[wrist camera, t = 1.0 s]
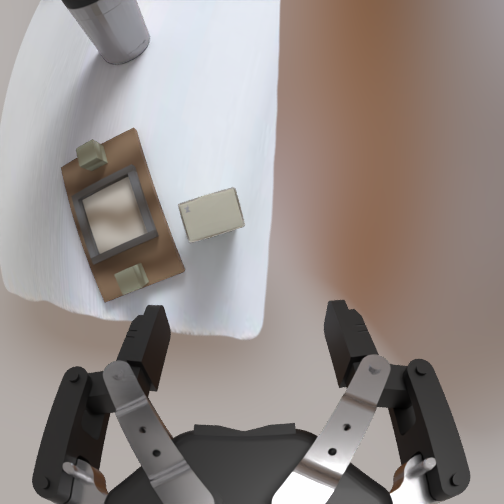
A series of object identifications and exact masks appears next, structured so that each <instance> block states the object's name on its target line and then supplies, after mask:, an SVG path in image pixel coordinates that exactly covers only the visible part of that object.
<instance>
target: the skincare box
mask: <svg viewBox="0 0 504 504" xmlns="http://www.w3.org/2000/svg"><path fill="white" fill-rule="evenodd" d="M178 207H179V211H180V215H181V219H182V222H183V226H184V229H185V232H186V235H187V238H188V241H189V242H190V243H192V242H196V241H200V240H204V239H207V238H211V237H214V236H217V235H220V234H224V233H227V232H230V231H233V230H236V229H238V228H241V227H244V226H245V223H244V219H243V215H242V211H241V207H240V203H239V199H238V196H237V192H236V189H235V188H233V187H232V188H229V189H225V190H221V191H218V192H215V193H211V194H208V195H204V196H201V197H198V198H195V199H192V200H189V201H186V202H183V203H180V204H178Z"/></svg>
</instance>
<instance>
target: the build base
mask: <svg viewBox="0 0 504 504" xmlns="http://www.w3.org/2000/svg"><path fill="white" fill-rule="evenodd" d="M76 152H77V157H78V158H76V159H74V160H73V161H71V162H69V163H68V164H66V165H64V166H63V167H61V170H62V175H63V179H64V183H65V188H66V192H67V196H68V200H69V203H70V207H71V211H72V214H73V217H74V221H75V224H76V227H77V231H78V234H79V237H80V240H81V243H82V246H83V249H84V251H85V254H86V257H87V260H88V262H89V265H90V268H91V270H92V273H93V275H94V278H95V280H96V283H97V285H98V288H99V290H100V292H101V295H102V297H103V299H104V302H108V301H110V300H113V299H115V298H118V297H120V296H123V295H125V294H128V293H131V292H133V291H136V290H138V289H141V288H143V287H146V286H149V285H151V284H154V283H156V282H159V281H161V280H164V279H167V278H169V277H172V276H174V275H177V274H180V273H182V272H184V271H185V268H184V265H183V263H182V260H181V258H180V255H179V253H178V250H177V248H176V245H175V243H174V240H173V237H172V235H171V232H170V229H169V227H168V224H167V221H166V219H165V216H164V213H163V210H162V207H161V205H160V202H159V199H158V196H157V193H156V190H155V187H154V184H153V181H152V178H151V175H150V172H149V169H148V166H147V163H146V160H145V157H144V153H143V150H142V147H141V143H140V140H139V137H138V133H137V130H136V129H135V128H132V129H130V130H128V131H126V132H124V133H122V134H120V135H118V136H116V137H114V138H112V139H110V140H108V141H106V142H104V143H102V144H99V143H98V142H96V141H94V140H93V139H92V140H90V141H89V142H87V143H85V144H83V145H82V146H80V147H78V148H77V149H76Z"/></svg>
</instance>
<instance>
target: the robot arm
mask: <svg viewBox="0 0 504 504" xmlns="http://www.w3.org/2000/svg"><path fill="white" fill-rule="evenodd" d="M62 2H63V3H64V4H65V6H66V7H67V9H68V10H69V11H70V13H71V14H72V15H73V17H74V18H75V19H76V21H77V22H78V24H79V25H80V26H81V28H82V29H83V30H84V32H85V33H86V34H87V36H88V37H89V39H90V40H91V41H92V43H93V44H94V45H95V47H96V48H97V50H98V51H99V52H100V54H101V55H102V56H103V58H104V59H105V60H106V61H107V62H108V63H111V64H121V63H125V62H128V61H130V60H132V59H134V58H135V57H137V56H138V55H140V54H141V53H142V52H143V51H144V50H145V48H146V47H147V46H148V43H149V40H150V36H149V32H148V30H147V27H146V25H145V22H144V19H143V16H142V14H141V11H140V8H139V6H138V3H137V0H62ZM170 333H171V332H170V326H169V323H168V320H167V316H166V313H165V309H164V307H163V306H162V305H148V306H147V307H146V310H145V312H144V315H138V316H137V317H136V318H135V319H134V320H133V321H132V323H131V325H130V328H129V331H128V332H127V335H126V338H125V340H124V342H123V344H122V347H121V350H120V352H119V355H118V357H117V360H116V361H114V362H111V363H110V364H108V365H107V366H106V367H105V369H104V371H101V372H94V373H87V372H86V370H85V369H84V368H82V367H78V366H76V367H72V368H70V369H69V370H67V372H66V373H65V374H64V376H63V379H62V381H61V384H60V386H59V389H58V392H57V394H56V397H55V400H54V403H53V406H52V409H51V412H50V414H49V417H48V420H47V424H46V427H45V430H44V433H43V437H42V440H41V444H40V448H39V452H38V456H37V459H36V464H35V468H34V473H33V478H32V483H33V487H34V489H35V491H36V492H37V494H39V495H40V496H41V497H43V498H45V499H47V500H50V501H52V502H54V503H55V504H437V503H440V502H442V501H445V500H447V499H450V498H452V497H454V496H456V495H459V494H460V493H462V492H463V491H464V490H465V489H466V488H467V486H468V484H469V481H470V471H469V467H468V464H467V460H466V456H465V453H464V449H463V446H462V443H461V440H460V436H459V433H458V430H457V428H456V425H455V422H454V419H453V416H452V413H451V411H450V408H449V405H448V403H447V400H446V397H445V395H444V392H443V390H442V388H441V385H440V383H439V380H438V378H437V376H436V373H435V371H434V369H433V367H432V365H431V364H430V363H429V362H427V361H426V360H423V359H415V360H412V361H411V362H410V363H409V365H408V366H400V365H392V364H389V362H388V361H387V360H386V359H385V358H384V357H382V356H379V354H378V352H377V350H376V348H375V345H374V343H373V341H372V338H371V336H370V334H369V332H368V330H367V327H366V325H365V323H364V321H363V318H362V316H361V315H360V314H359V313H358V312H357V311H356V310H355V309H351V310H349V309H348V307H347V304H346V303H345V300H335V301H329V302H328V306H327V311H326V316H325V322H324V333H325V338H326V342H327V345H328V349H329V352H330V356H331V359H332V363H333V366H334V370H335V374H336V378H337V382H338V385H339V388H342V387H347V390H346V392H345V394H344V395H343V396H342V398H341V400H340V401H339V403H338V405H337V406H336V408H335V410H334V412H333V413H332V415H331V417H330V418H329V420H328V421H327V423H326V425H325V426H324V428H323V430H322V431H321V433H320V434H319V436H316V435H314V434H312V433H310V432H307V431H304V430H300V429H295V423H290V424H276V425H268V426H264V427H261V428H256V429H252V430H248V431H240V430H235V429H231V428H226V427H222V426H217V425H215V426H213V425H196V424H195V425H194V430H193V431H188V432H185V433H182V434H180V435H178V436H176V437H174V438H173V437H172V435H171V434H170V432H169V431H168V429H167V428H166V426H165V425H164V423H163V422H162V420H161V418H160V417H159V415H158V413H157V412H156V410H155V408H154V407H153V405H152V403H151V401H150V400H149V398H148V395H149V391H157V390H158V386H159V381H160V377H161V373H162V369H163V365H164V361H165V356H166V353H167V349H168V345H169V341H170V335H171V334H170ZM377 407H386V408H388V410H389V414H390V417H391V421H392V425H393V429H394V433H395V437H396V442H397V446H398V451H399V455H400V460H401V466H400V467H399V468H398V469H397V470H396V472H395V474H394V478H393V487H392V489H391V491H390V492H388V491H387V490H386V489H385V488H384V487H383V486H381V485H380V484H378V483H377V482H376V481H374V480H373V479H371V478H370V477H369V476H367V475H366V474H365V473H363V472H362V471H361V470H359V469H358V468H357V467H355V466H354V465H353V464H352V463H350V461H351V459H352V457H353V456H354V454H355V452H356V450H357V448H358V446H359V445H360V442H361V441H362V439H363V437H364V434H365V432H366V430H367V429H368V427H369V424H370V422H371V420H372V418H373V416H374V413H375V411H376V408H377ZM113 412H115V414H116V417H117V419H118V421H119V423H120V425H121V428H122V430H123V432H124V434H125V436H126V438H127V440H128V442H129V443H130V446H131V448H132V450H133V451H134V453H135V455H136V457H137V458H138V461H139V462H140V464H141V467H139V468H138V469H137V470H136V471H135V472H134V473H132V474H131V475H130V476H129V477H127V478H126V479H125V480H124V481H122V482H121V483H120V484H119V485H118V486H116V487H115V488H114V489H112V490H111V491H110V492H109V493H108V491H107V489H106V480H105V477H104V475H103V474H102V473H101V472H100V471H99V468H100V462H101V455H102V450H103V444H104V440H105V435H106V430H107V425H108V421H109V417H110V413H113Z"/></svg>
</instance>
